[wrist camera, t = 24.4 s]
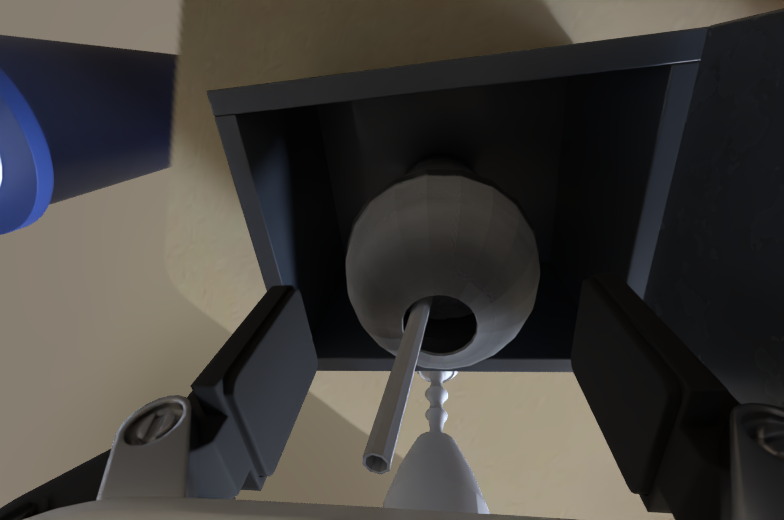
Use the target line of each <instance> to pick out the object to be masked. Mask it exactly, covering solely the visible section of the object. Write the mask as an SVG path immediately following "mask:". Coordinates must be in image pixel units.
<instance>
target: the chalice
mask: <svg viewBox="0 0 784 520" xmlns="http://www.w3.org/2000/svg"><path fill="white" fill-rule="evenodd" d="M457 372H458V371H417V373H418V374H419V375H420V376H421V377H422V378H423V379H425V380H426V381H428V382H431V385H430V388H428V389H427V390H426V392H425V396H426V398H427V399H428V401H430V404H431V405H430V408H429V409H428V410H427V411H426V413H425V416H426V418H427V420H428V421H429V426H430V432H426V433H423V434H421V435H420V436H419V437H418V438H417V439H416V441H415V442H414V444H413V446H412V447H411V449H410V450H409V452H408V453H407V455H406V456H405V458H404V460H403V461H402V463H401V464H400V466H399V468H398V471H397V473H396V475H395V477H394V479H393V482H392V484H391V486H390V488H389V490H388V493H387V495H386V498H385V500H384V503H383V508H397V509H414V510H431V511H448V512H464V513H481V514H490V513H489V510H488V508H487V505H486V503H485V500H484V498H483V495H482V493H481V491H480V488H479V486H478V483H477V481H476V479H475V476H474V474H473V471H472V470H471V468H470V466H469V464H468V463H467V461H466V459H465V457H464V456H463V454H462V452H461V450H460V449H459V447H458V445H457V444H456V442H455V440H454V439H453V438H452V437H451V436H449V435H447V434H445V433H443V431H442V429H443V425H444V422H445V421H446V419H447V413H446V412H445V410H444V409H443V406H442V404H443V402H445V401H446V400H447V398H448V393H447V391H446V390H445V389H444V388H443V386H442V383H444V382H447V381H449V380H450V379H452V378H453V377H454V376H455V375H456V374H457Z"/></svg>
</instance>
